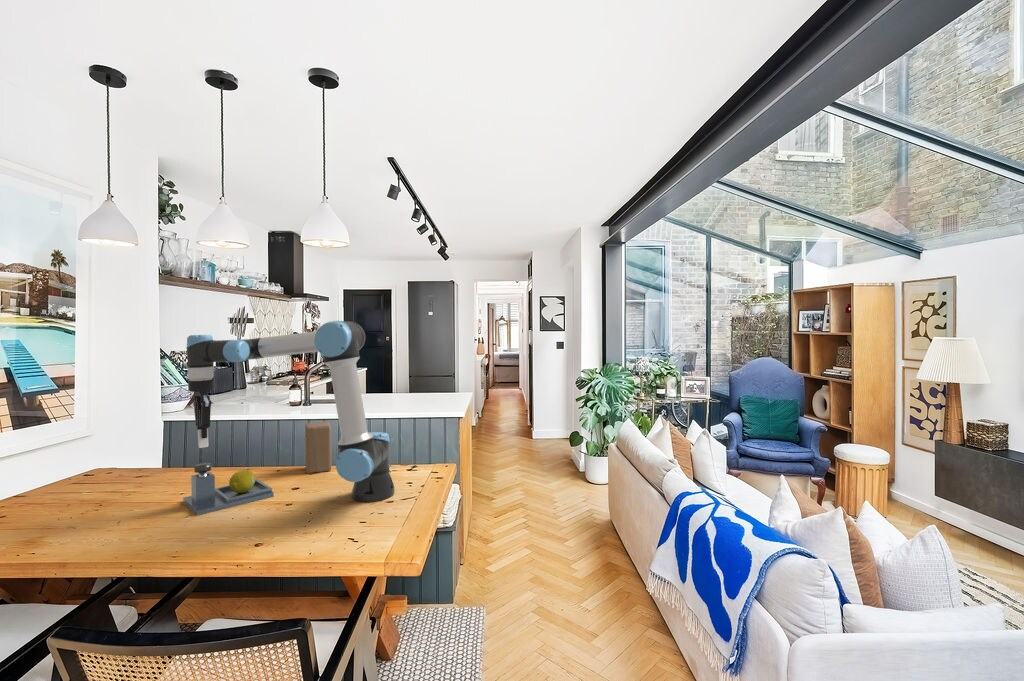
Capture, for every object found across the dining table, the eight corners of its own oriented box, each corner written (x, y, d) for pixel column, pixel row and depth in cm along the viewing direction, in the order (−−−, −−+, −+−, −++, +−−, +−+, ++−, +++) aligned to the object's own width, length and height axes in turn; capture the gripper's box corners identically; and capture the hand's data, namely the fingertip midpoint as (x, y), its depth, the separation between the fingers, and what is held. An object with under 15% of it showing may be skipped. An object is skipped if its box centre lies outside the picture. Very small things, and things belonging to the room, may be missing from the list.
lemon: (242, 497, 168) (241, 475, 168) (222, 496, 169) (222, 474, 169) (262, 487, 179) (262, 466, 178) (244, 486, 180) (244, 465, 180)
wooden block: (305, 467, 209) (305, 422, 208) (329, 465, 213) (329, 420, 212) (306, 474, 200) (305, 427, 199) (331, 471, 204) (331, 425, 203)
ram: (213, 494, 165) (213, 464, 165) (196, 498, 161) (196, 467, 161) (209, 491, 168) (208, 461, 168) (192, 494, 165) (192, 464, 164)
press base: (273, 496, 174) (273, 468, 173) (197, 515, 156) (196, 484, 156) (255, 485, 186) (255, 458, 185) (183, 501, 168) (182, 472, 168)
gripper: (219, 379, 162) (221, 448, 163) (208, 377, 171) (210, 442, 172) (193, 381, 156) (196, 452, 157) (183, 379, 165) (185, 446, 166)
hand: (203, 447), depth 164 cm, fingers closed
